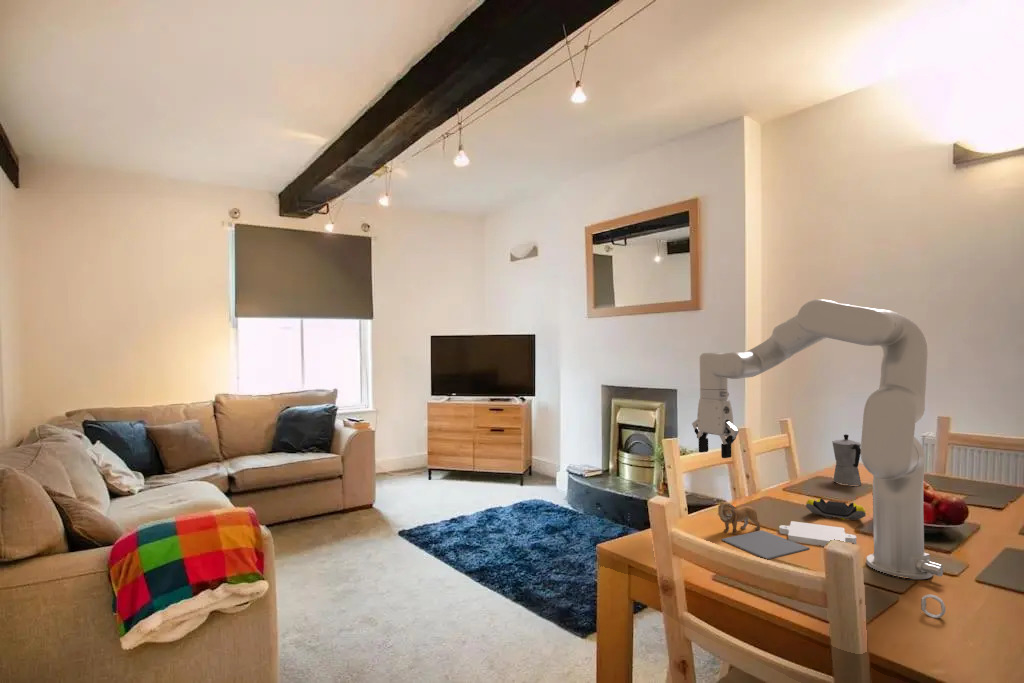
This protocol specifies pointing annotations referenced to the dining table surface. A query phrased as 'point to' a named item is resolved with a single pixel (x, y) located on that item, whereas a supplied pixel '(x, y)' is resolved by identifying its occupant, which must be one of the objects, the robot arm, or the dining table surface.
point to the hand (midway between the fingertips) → (714, 454)
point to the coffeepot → (847, 461)
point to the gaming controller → (836, 509)
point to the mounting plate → (815, 533)
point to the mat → (765, 544)
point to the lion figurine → (737, 516)
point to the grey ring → (923, 606)
